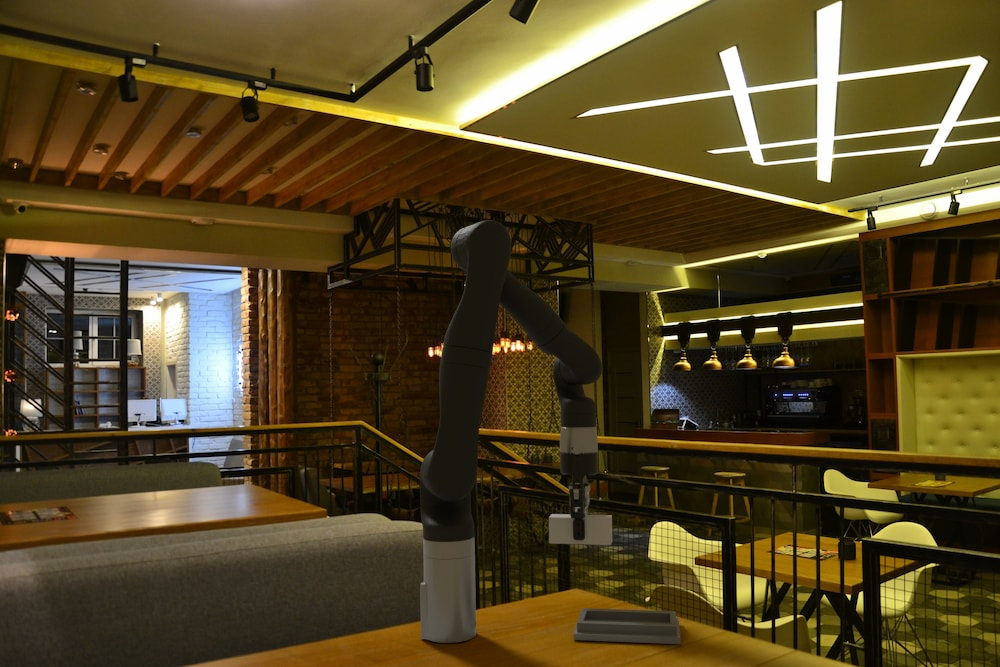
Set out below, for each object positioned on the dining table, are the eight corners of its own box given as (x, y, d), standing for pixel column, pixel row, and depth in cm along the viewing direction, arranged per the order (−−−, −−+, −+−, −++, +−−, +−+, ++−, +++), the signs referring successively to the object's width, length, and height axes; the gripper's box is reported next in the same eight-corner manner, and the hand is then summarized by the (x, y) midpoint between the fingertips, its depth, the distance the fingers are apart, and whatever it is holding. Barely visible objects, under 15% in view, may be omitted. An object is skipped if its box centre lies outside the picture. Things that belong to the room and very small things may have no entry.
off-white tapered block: (611, 545, 149) (610, 518, 149) (549, 543, 151) (548, 517, 151) (612, 540, 153) (611, 515, 153) (552, 539, 155) (551, 514, 156)
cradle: (680, 644, 130) (680, 628, 130) (573, 639, 133) (573, 624, 133) (678, 623, 141) (678, 609, 142) (580, 620, 145) (580, 606, 145)
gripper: (564, 447, 161) (565, 531, 160) (555, 452, 147) (556, 543, 146) (600, 447, 160) (602, 531, 158) (595, 452, 146) (596, 544, 144)
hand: (580, 537), depth 152 cm, fingers closed on off-white tapered block, 4 cm apart
